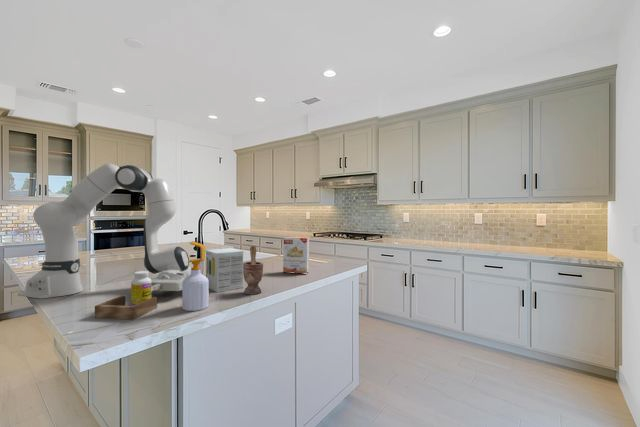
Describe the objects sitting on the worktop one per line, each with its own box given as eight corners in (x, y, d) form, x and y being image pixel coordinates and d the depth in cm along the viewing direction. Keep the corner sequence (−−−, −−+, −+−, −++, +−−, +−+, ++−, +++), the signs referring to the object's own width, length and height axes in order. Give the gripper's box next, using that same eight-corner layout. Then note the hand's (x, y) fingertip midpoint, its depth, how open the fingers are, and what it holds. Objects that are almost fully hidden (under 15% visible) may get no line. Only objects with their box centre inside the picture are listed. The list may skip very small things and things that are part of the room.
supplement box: (204, 286, 147) (204, 249, 147) (230, 282, 156) (231, 247, 156) (216, 292, 137) (216, 253, 137) (243, 287, 146) (243, 250, 146)
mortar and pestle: (238, 290, 142) (238, 246, 141) (256, 287, 146) (256, 245, 146) (246, 296, 132) (247, 249, 132) (265, 293, 137) (266, 248, 136)
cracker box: (282, 273, 178) (283, 237, 178) (285, 271, 184) (286, 236, 184) (306, 274, 176) (307, 237, 175) (308, 272, 182) (309, 236, 181)
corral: (94, 317, 105) (94, 306, 105) (121, 306, 117) (121, 295, 117) (133, 319, 103) (133, 307, 103) (156, 307, 116) (156, 297, 116)
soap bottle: (187, 304, 121) (187, 240, 120) (211, 303, 121) (211, 240, 121) (178, 311, 112) (178, 243, 111) (204, 311, 112) (204, 243, 112)
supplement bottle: (142, 309, 114) (142, 274, 113) (126, 308, 115) (126, 273, 115) (155, 304, 120) (155, 270, 120) (140, 302, 122) (140, 269, 121)
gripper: (144, 272, 135) (121, 280, 122) (189, 274, 134) (171, 281, 120) (144, 287, 136) (121, 296, 122) (189, 288, 134) (171, 298, 120)
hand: (147, 289), depth 121 cm, fingers closed, pressing on supplement bottle
